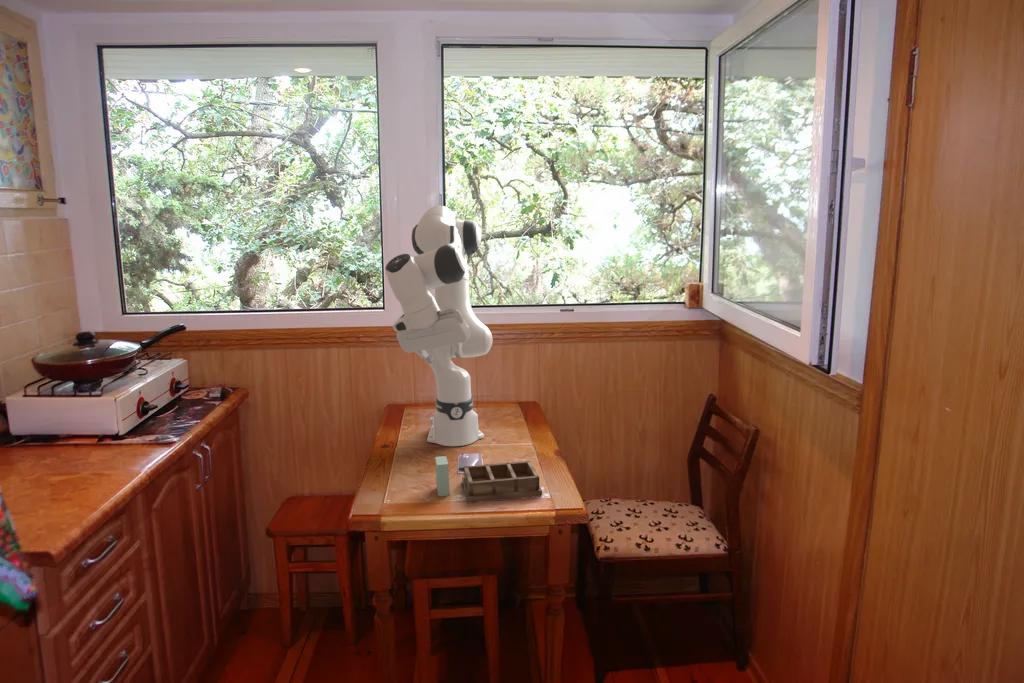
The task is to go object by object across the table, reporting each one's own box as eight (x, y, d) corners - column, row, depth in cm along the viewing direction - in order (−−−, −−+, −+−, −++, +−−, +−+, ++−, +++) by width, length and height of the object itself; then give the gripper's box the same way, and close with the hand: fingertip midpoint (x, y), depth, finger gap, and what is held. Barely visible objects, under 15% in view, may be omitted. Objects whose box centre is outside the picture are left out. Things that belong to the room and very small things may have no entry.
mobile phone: (457, 472, 208) (458, 453, 223) (457, 475, 209) (458, 456, 223) (483, 471, 209) (482, 452, 223) (483, 474, 209) (482, 455, 224)
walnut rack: (462, 481, 203) (461, 465, 202) (531, 475, 206) (531, 459, 205) (468, 502, 189) (468, 485, 188) (542, 495, 193) (542, 478, 192)
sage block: (436, 487, 200) (435, 456, 198) (447, 486, 200) (446, 456, 198) (438, 496, 194) (437, 465, 192) (449, 495, 194) (448, 464, 192)
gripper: (462, 301, 182) (483, 346, 188) (397, 316, 192) (419, 358, 197) (452, 313, 177) (474, 359, 183) (387, 328, 187) (409, 371, 192)
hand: (445, 359), depth 190 cm, fingers open, 8 cm apart
